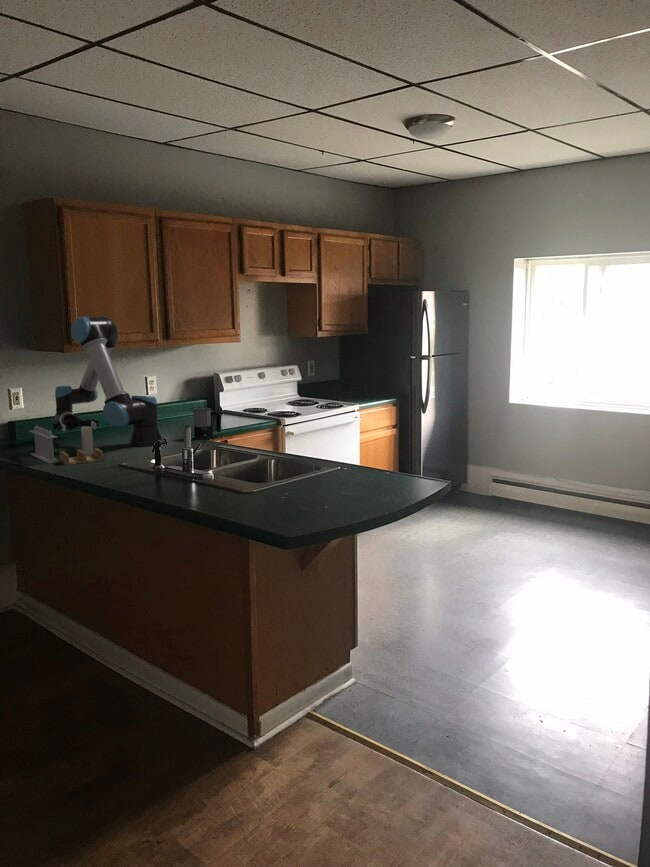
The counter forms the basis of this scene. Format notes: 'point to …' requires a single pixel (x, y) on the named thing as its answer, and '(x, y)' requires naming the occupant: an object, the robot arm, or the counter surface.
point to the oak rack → (81, 457)
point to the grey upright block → (87, 440)
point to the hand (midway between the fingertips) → (80, 427)
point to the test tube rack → (44, 445)
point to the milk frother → (205, 423)
